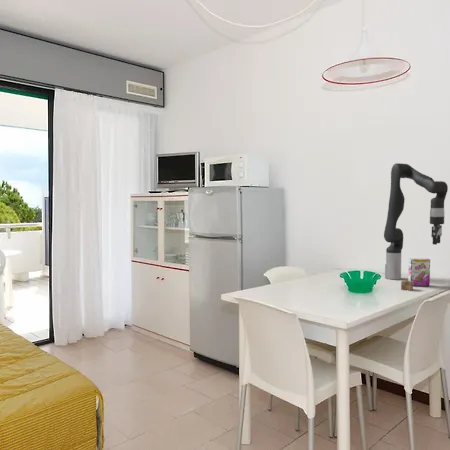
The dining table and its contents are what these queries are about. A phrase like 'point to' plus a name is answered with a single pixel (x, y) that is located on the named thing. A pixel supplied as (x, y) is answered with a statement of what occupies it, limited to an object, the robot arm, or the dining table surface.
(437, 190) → the robot arm
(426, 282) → the candy bar box
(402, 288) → the walnut cube
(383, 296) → the dining table surface
